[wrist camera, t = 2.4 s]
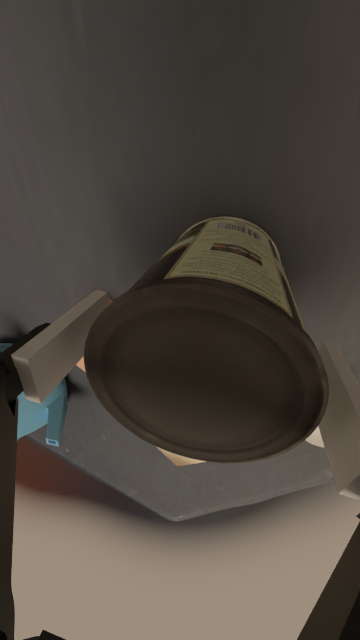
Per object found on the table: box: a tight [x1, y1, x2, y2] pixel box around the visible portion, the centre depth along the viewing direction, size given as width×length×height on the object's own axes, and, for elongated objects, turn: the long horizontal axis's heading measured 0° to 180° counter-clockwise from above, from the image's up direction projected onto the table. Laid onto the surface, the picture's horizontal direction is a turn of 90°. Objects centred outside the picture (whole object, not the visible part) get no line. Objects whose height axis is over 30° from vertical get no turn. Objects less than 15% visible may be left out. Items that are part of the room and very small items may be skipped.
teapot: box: [0, 343, 67, 446], centre depth 33 cm, size 15×15×11 cm
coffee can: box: [84, 216, 329, 463], centre depth 16 cm, size 10×10×14 cm
